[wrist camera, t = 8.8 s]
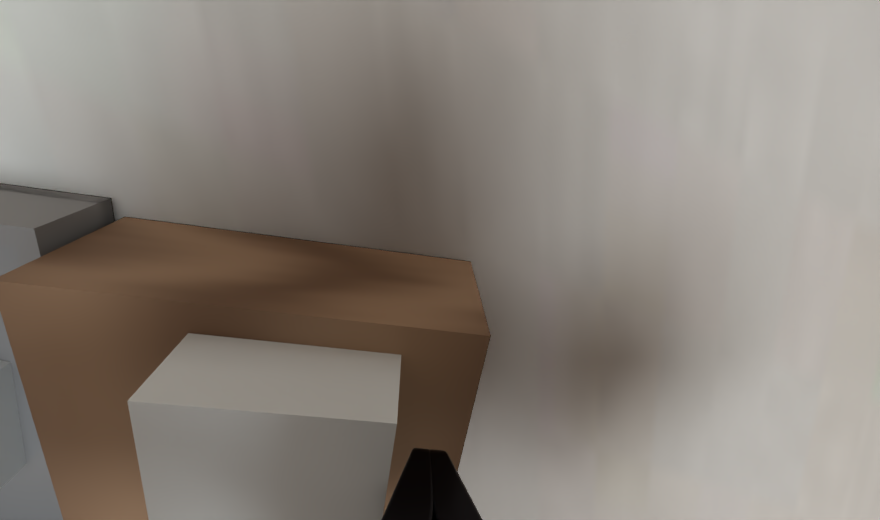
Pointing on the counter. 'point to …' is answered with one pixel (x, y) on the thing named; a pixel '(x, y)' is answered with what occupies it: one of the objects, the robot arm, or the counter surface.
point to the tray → (4, 249)
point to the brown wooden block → (228, 315)
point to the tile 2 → (266, 431)
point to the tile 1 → (9, 427)
